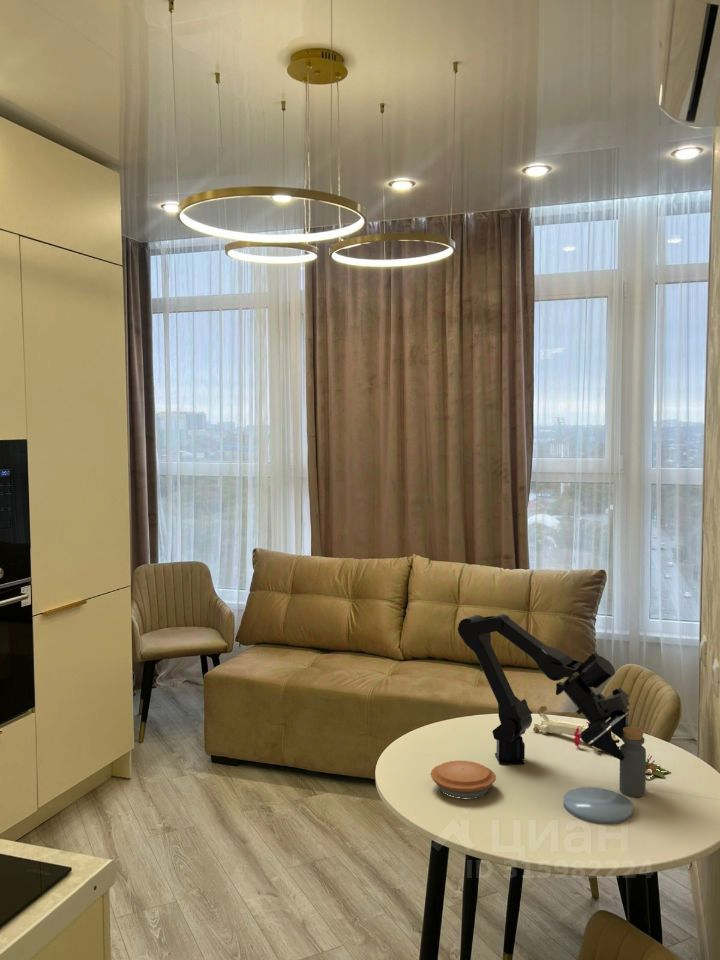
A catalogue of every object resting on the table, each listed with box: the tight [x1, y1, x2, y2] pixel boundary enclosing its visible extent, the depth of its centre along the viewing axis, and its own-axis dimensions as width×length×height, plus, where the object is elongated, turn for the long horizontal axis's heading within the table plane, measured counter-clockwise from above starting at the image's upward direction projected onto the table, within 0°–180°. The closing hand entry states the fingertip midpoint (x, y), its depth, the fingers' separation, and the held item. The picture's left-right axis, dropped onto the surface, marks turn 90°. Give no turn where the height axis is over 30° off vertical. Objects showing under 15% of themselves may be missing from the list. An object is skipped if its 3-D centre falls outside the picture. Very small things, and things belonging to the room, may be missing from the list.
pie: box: [429, 760, 497, 799], centre depth 191 cm, size 16×16×5 cm
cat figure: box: [532, 704, 621, 752], centre depth 221 cm, size 10×9×25 cm
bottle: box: [618, 726, 647, 798], centre depth 189 cm, size 6×6×15 cm
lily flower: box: [645, 754, 670, 782], centre depth 201 cm, size 12×12×5 cm
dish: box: [563, 786, 634, 824], centre depth 181 cm, size 15×15×2 cm
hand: (629, 753), depth 189 cm, fingers open, 9 cm apart
